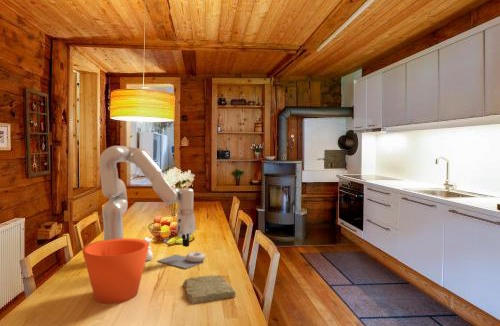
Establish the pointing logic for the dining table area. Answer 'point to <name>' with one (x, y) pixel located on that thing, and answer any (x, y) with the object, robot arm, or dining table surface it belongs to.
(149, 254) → the white creature statuette
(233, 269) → the dining table surface
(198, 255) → the donut
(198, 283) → the stone slab
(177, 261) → the rubber mat
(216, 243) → the dining table surface
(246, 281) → the dining table surface
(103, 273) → the flowerpot
